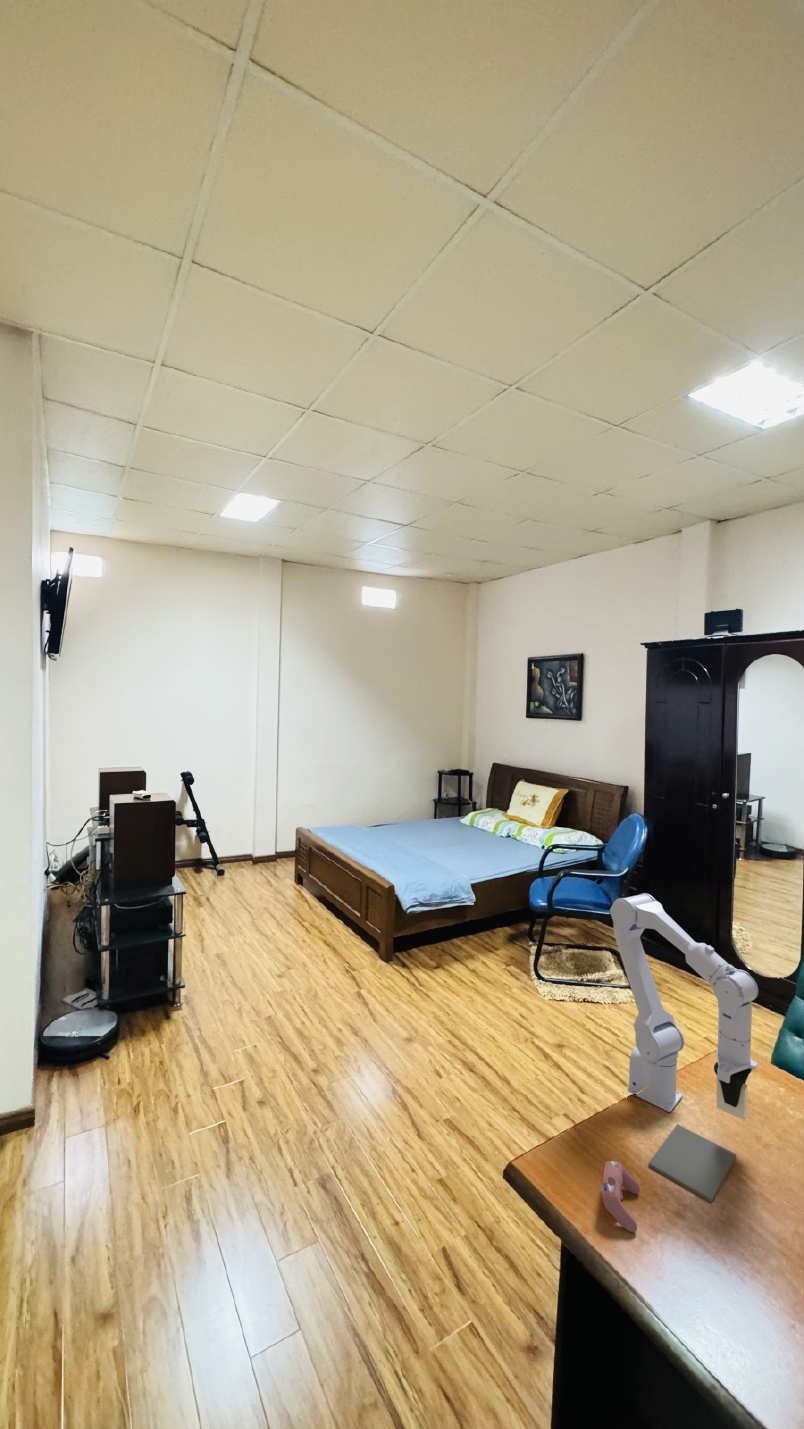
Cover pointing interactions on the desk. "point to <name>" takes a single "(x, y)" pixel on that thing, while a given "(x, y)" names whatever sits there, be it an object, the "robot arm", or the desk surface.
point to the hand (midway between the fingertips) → (732, 1101)
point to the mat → (693, 1162)
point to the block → (736, 1111)
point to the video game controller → (618, 1193)
